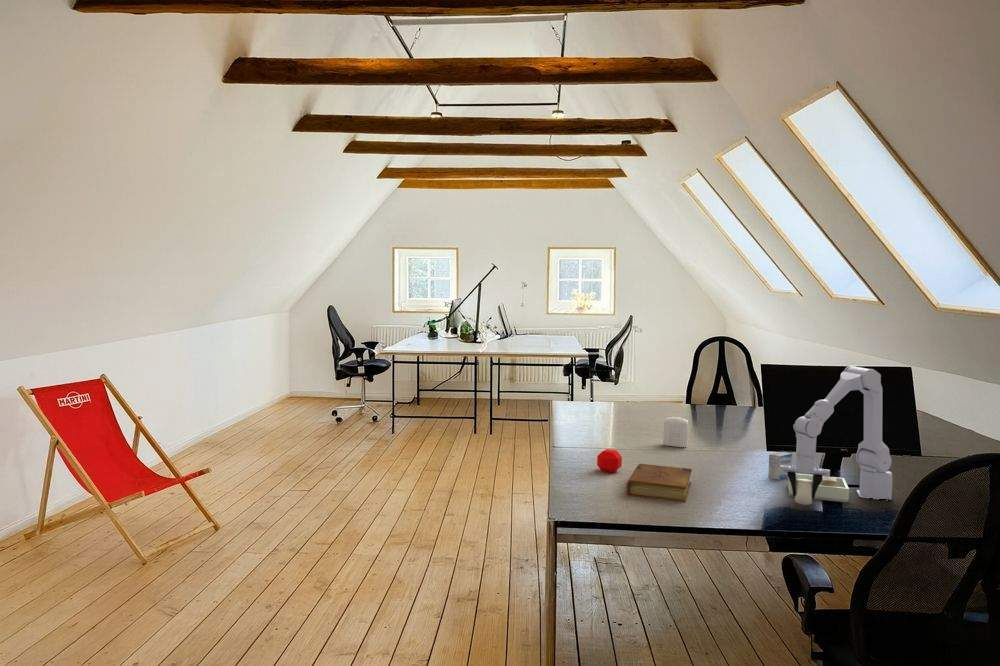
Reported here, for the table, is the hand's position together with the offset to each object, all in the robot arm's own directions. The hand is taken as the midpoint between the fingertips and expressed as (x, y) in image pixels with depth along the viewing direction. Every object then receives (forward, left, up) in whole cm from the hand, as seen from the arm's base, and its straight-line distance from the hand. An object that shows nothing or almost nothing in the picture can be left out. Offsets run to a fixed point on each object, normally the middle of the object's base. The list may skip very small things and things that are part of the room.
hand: (803, 496), depth 236 cm
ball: (+65, -13, -2) cm, 66 cm away
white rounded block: (+46, -64, -2) cm, 79 cm away
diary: (+45, +3, -3) cm, 45 cm away
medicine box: (+6, -29, -2) cm, 30 cm away
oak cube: (-8, -11, -1) cm, 13 cm away
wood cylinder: (0, 0, -2) cm, 2 cm away
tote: (-5, -12, -2) cm, 13 cm away
